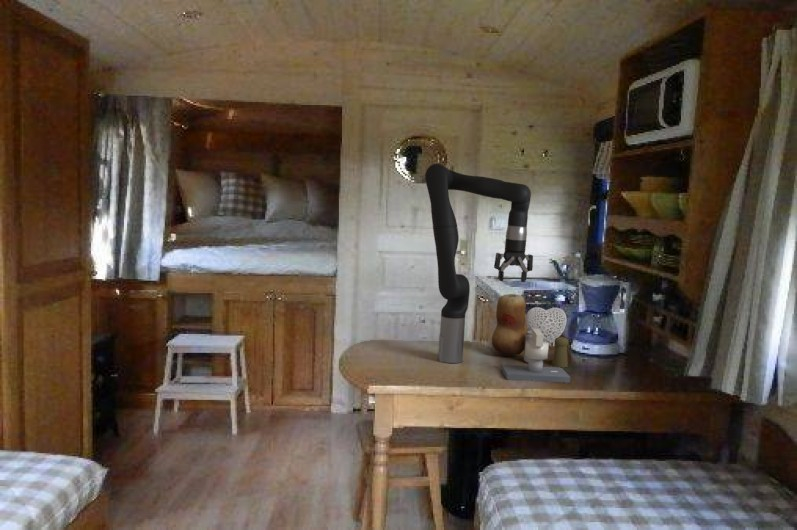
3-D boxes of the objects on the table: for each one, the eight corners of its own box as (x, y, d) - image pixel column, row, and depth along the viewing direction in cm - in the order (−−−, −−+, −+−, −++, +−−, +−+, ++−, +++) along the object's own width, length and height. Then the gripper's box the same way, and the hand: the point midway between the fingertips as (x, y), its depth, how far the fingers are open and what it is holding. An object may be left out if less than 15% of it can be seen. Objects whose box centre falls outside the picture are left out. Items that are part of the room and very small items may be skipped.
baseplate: (506, 379, 214) (508, 360, 213) (501, 369, 226) (502, 351, 225) (569, 382, 214) (571, 363, 213) (561, 372, 226) (562, 354, 225)
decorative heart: (559, 343, 272) (562, 305, 270) (568, 349, 261) (572, 310, 260) (520, 343, 270) (522, 304, 268) (528, 349, 259) (531, 309, 257)
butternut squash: (487, 357, 243) (491, 295, 240) (494, 349, 255) (498, 290, 252) (522, 362, 238) (527, 298, 235) (528, 354, 250) (532, 294, 248)
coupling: (550, 361, 214) (551, 335, 213) (526, 359, 214) (528, 334, 213) (544, 353, 224) (546, 329, 223) (522, 351, 225) (524, 327, 224)
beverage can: (541, 361, 241) (543, 331, 239) (539, 365, 235) (541, 334, 233) (524, 359, 243) (527, 329, 241) (522, 363, 237) (524, 332, 235)
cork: (568, 368, 232) (570, 340, 231) (551, 366, 233) (554, 338, 232) (567, 364, 238) (569, 336, 237) (551, 362, 239) (553, 335, 238)
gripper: (501, 238, 222) (497, 282, 224) (538, 240, 224) (533, 283, 226) (494, 236, 229) (490, 279, 231) (530, 238, 232) (525, 280, 234)
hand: (512, 281), depth 229 cm, fingers open, 8 cm apart
